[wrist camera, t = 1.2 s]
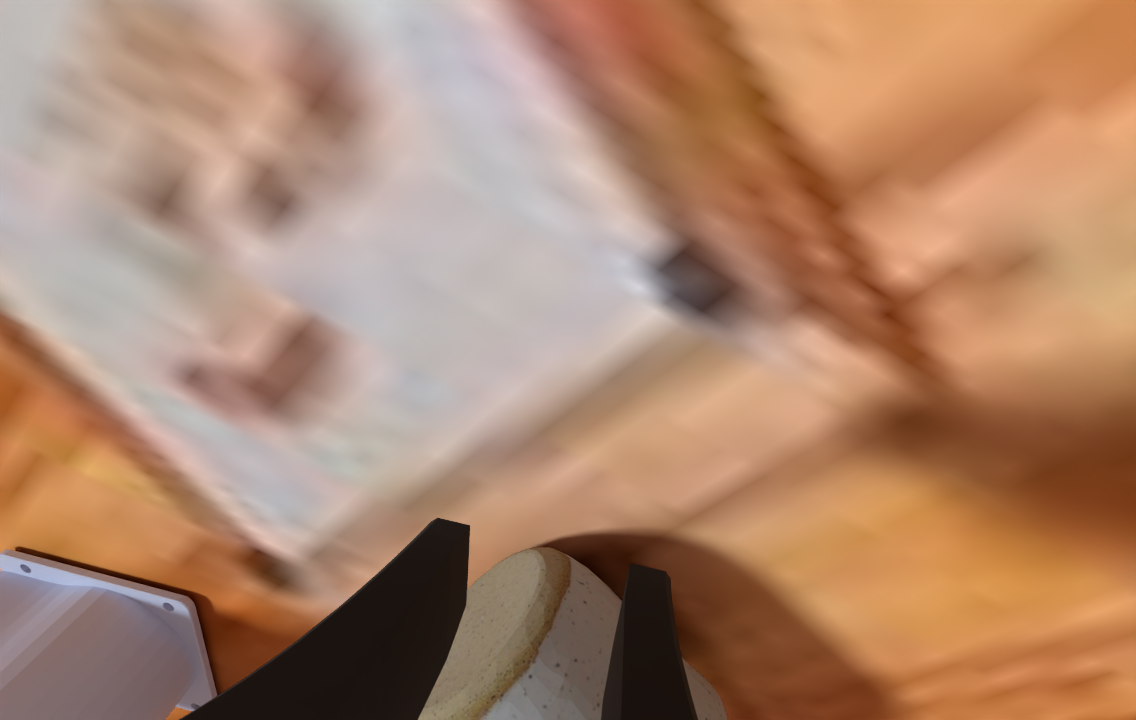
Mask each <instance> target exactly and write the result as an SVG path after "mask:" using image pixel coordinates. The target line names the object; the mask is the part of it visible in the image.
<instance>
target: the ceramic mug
mask: <svg viewBox="0 0 1136 720" xmlns="http://www.w3.org/2000/svg"><path fill="white" fill-rule="evenodd" d="M621 604H622V601H621V600H620V599H619V598H618V596H617V595H616V594H615V593H614V592H613V591H612V590H611V589H610V588H609V587H608V586H607V585H606V584H605V583H604V582H602V581H601V580H600V579H599V578H598V577H597V576H596V575H595V574H594V573H593V572H591V571H590V570H589V569H588V568H587V567H585V566H584V565H582V564H581V563H579V562H578V561H576V560H575V559H573V558H571V557H570V556H568V555H566V554H565V553H562V552H560V551H558V550H556V549H553V548H549V547H537V548H530V549H526V550H523V551H520V552H518V553H515V554H512V555H511V556H509V557H507V558H506V559H504V560H502V561H501V562H499V563H498V564H496V565H495V566H494V567H492V568H491V569H490V570H489V571H487V572H486V573H485V574H484V575H482V576H481V577H480V578H479V579H477V580H476V582H475V583H474V584H473V585H472V586H471V587H470V588H469V589H468V590H467V601H466V607H465V610H464V613H463V616H462V619H461V621H460V624H459V627H458V630H457V633H456V636H455V638H454V641H453V644H452V647H451V649H450V652H449V655H448V658H447V660H446V662H445V664H444V666H443V669H442V671H441V673H440V675H439V677H438V679H437V681H436V683H435V685H434V687H433V689H432V692H431V694H430V696H429V698H428V700H427V702H426V704H425V706H424V708H423V710H422V712H421V714H420V716H419V718H418V720H601V713H602V703H603V696H604V691H605V685H606V680H607V674H608V669H609V663H610V658H611V652H612V647H613V642H614V637H615V632H616V627H617V623H618V618H619V613H620V609H621ZM682 660H683V664H684V668H685V672H686V676H687V680H688V684H689V688H690V692H691V696H692V699H693V703H694V706H695V710H696V713H697V717H698V720H728V718H727V714H726V710H725V708H724V705H723V703H722V700H721V698H720V696H719V695H718V693H717V692H716V691H715V689H714V688H713V687H712V685H711V684H710V683H709V682H708V681H707V680H706V679H705V678H704V677H703V676H702V675H701V674H700V673H699V672H698V671H696V670H695V669H694V668H693V667H692V666H691V665H690V664H688V663H687V662H686V661H685V660H684V659H683V658H682Z"/></svg>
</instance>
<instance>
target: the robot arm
mask: <svg viewBox="0 0 1136 720" xmlns="http://www.w3.org/2000/svg"><path fill="white" fill-rule="evenodd" d="M469 536H470V525H466V524H462V523H457V522H453V521H449V520H445V519H440V518H437V519H435V520H433V521H431V522H430V523H429V524H428V525H427V526H426V527H425V528H424V530H423V531H422V532H421V533H420V534H419V535H418V536H417V537H416V538H414V539H413V540H412V541H411V542H410V543H409V544H408V545H407V546H406V547H405V548H404V549H403V550H402V551H401V552H400V553H399V554H398V555H397V556H396V557H395V558H394V559H393V560H392V561H391V562H389V563H388V564H387V565H386V566H385V567H384V568H383V569H382V570H381V571H380V572H379V573H378V574H376V575H375V576H374V577H373V578H372V579H371V580H370V581H368V582H367V583H366V584H365V585H364V586H363V587H362V588H361V589H359V590H358V591H357V592H356V593H355V594H354V595H353V596H351V597H350V598H349V599H348V600H347V601H346V602H345V603H343V604H342V605H341V606H340V607H339V608H337V609H336V610H335V611H334V612H332V613H331V614H330V615H329V616H327V617H326V618H325V619H324V620H322V621H321V622H320V623H319V624H317V625H316V626H315V627H314V628H312V629H311V630H310V631H309V632H307V633H306V634H305V635H304V636H302V637H301V638H300V639H298V640H297V641H296V642H294V643H293V644H292V645H290V646H289V647H288V648H286V649H285V650H284V651H282V652H281V653H280V654H278V655H277V656H276V657H274V658H273V659H271V660H270V661H269V662H267V663H266V664H264V665H263V666H261V667H260V668H258V669H257V670H256V671H254V672H253V673H251V674H250V675H248V676H247V677H245V678H244V679H243V680H241V681H240V682H238V683H237V684H235V685H233V686H232V687H230V688H229V689H227V690H226V691H224V692H222V693H221V694H219V695H218V696H217V692H216V688H215V684H214V680H213V676H212V672H211V668H210V664H209V660H208V656H207V652H206V648H205V644H204V639H203V635H202V631H201V627H200V623H199V619H198V615H197V611H196V607H195V604H194V602H193V601H192V600H191V599H190V598H189V597H187V596H184V595H181V594H177V593H173V592H169V591H166V590H162V589H158V588H154V587H151V586H147V585H143V584H139V583H135V582H132V581H128V580H124V579H120V578H116V577H113V576H109V575H105V574H101V573H98V572H94V571H90V570H86V569H82V568H79V567H75V566H71V565H67V564H63V563H60V562H56V561H52V560H48V559H45V558H41V557H37V556H33V555H29V554H26V553H22V552H18V551H14V550H9V549H6V550H4V551H2V552H1V553H0V569H1V571H0V720H165V719H166V718H167V717H168V716H169V714H170V713H171V712H172V711H173V709H174V708H175V707H179V708H183V709H186V710H190V711H192V712H191V713H189V714H187V715H186V716H184V717H183V718H181V719H179V720H418V718H419V716H420V714H421V712H422V710H423V708H424V706H425V704H426V702H427V700H428V698H429V696H430V694H431V692H432V689H433V687H434V685H435V683H436V681H437V679H438V677H439V675H440V673H441V671H442V669H443V666H444V664H445V662H446V660H447V658H448V655H449V652H450V649H451V647H452V644H453V641H454V638H455V636H456V633H457V630H458V627H459V624H460V621H461V619H462V616H463V613H464V610H465V607H466V601H467V580H468V558H469ZM601 720H698V717H697V713H696V710H695V706H694V703H693V699H692V696H691V692H690V688H689V684H688V680H687V676H686V672H685V668H684V664H683V660H682V655H681V651H680V646H679V641H678V636H677V630H676V625H675V619H674V613H673V605H672V596H671V580H670V577H669V575H668V574H667V573H666V571H662V570H657V569H653V568H649V567H645V566H640V565H636V564H632V563H630V566H629V571H628V576H627V581H626V585H625V590H624V595H623V599H622V604H621V609H620V613H619V618H618V623H617V627H616V632H615V637H614V642H613V647H612V652H611V658H610V663H609V669H608V674H607V680H606V685H605V691H604V696H603V703H602V713H601Z"/></svg>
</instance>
